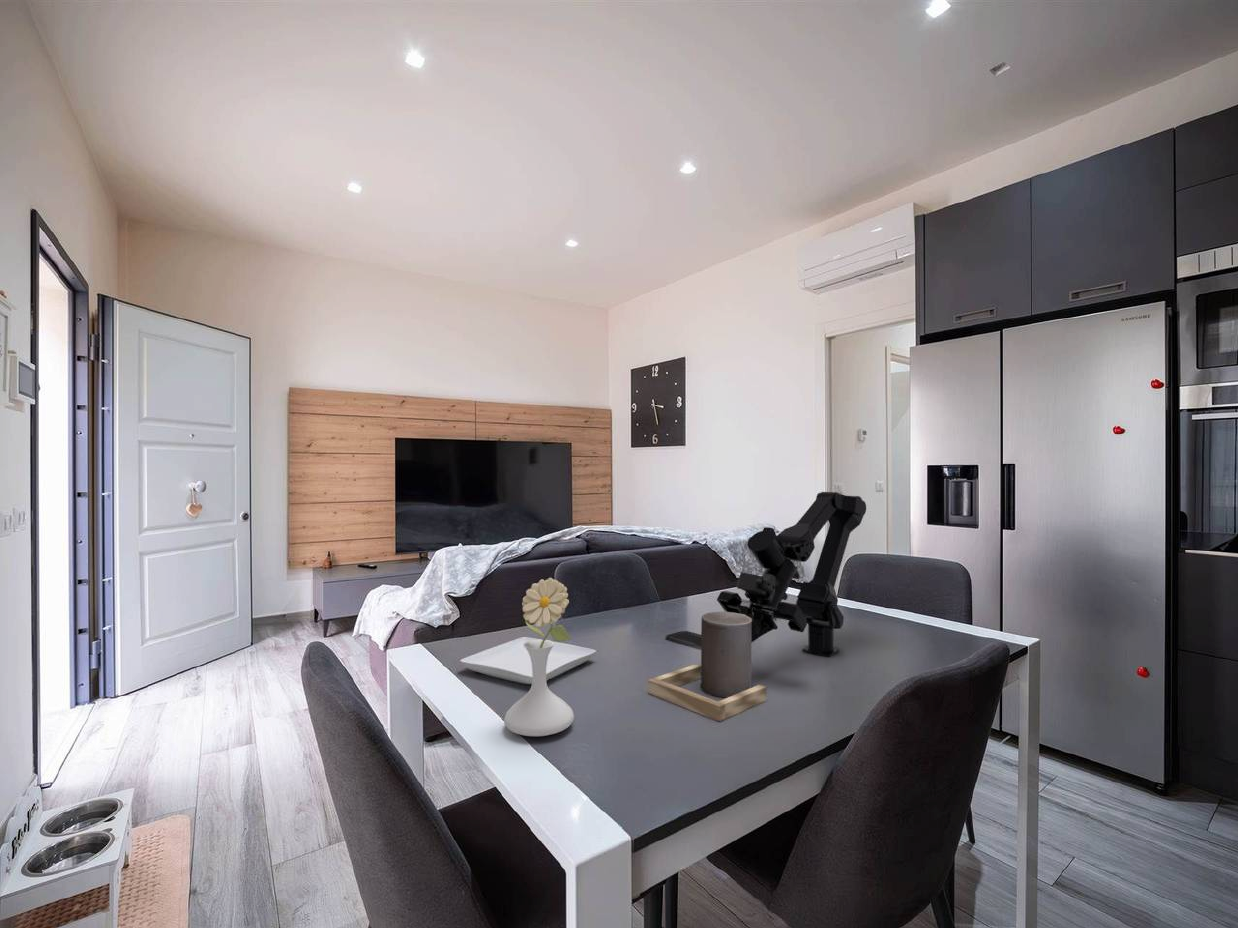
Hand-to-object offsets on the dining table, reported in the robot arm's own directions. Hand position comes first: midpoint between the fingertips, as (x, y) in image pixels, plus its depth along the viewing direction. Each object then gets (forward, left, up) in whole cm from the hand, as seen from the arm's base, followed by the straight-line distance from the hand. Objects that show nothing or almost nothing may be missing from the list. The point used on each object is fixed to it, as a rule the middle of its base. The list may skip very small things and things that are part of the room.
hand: (742, 644), depth 118 cm
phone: (-17, -21, -8) cm, 29 cm away
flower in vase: (+40, -15, -8) cm, 43 cm away
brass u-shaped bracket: (+10, -2, -7) cm, 13 cm away
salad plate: (+21, -39, -8) cm, 45 cm away
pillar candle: (+5, -1, -8) cm, 9 cm away
